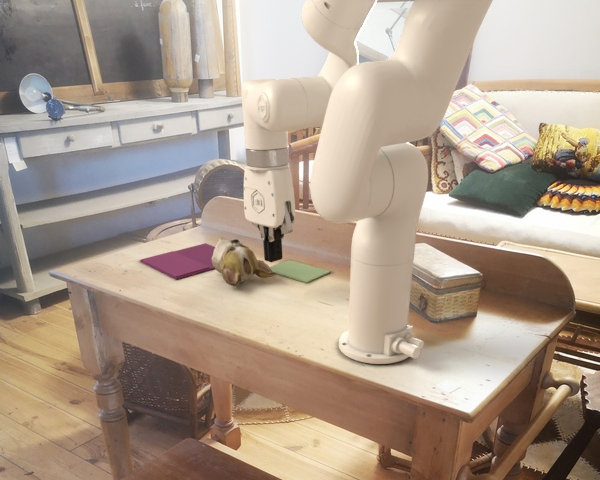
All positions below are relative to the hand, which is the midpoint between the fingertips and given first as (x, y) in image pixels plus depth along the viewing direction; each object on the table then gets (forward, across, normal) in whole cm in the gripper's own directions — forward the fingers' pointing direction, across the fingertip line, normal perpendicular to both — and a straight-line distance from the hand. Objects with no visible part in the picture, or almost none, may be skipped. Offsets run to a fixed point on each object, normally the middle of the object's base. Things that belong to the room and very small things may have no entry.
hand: (273, 259), depth 114 cm
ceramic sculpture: (+7, -12, 0) cm, 14 cm away
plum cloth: (+6, -29, -1) cm, 30 cm away
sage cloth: (+7, -7, +12) cm, 16 cm away
